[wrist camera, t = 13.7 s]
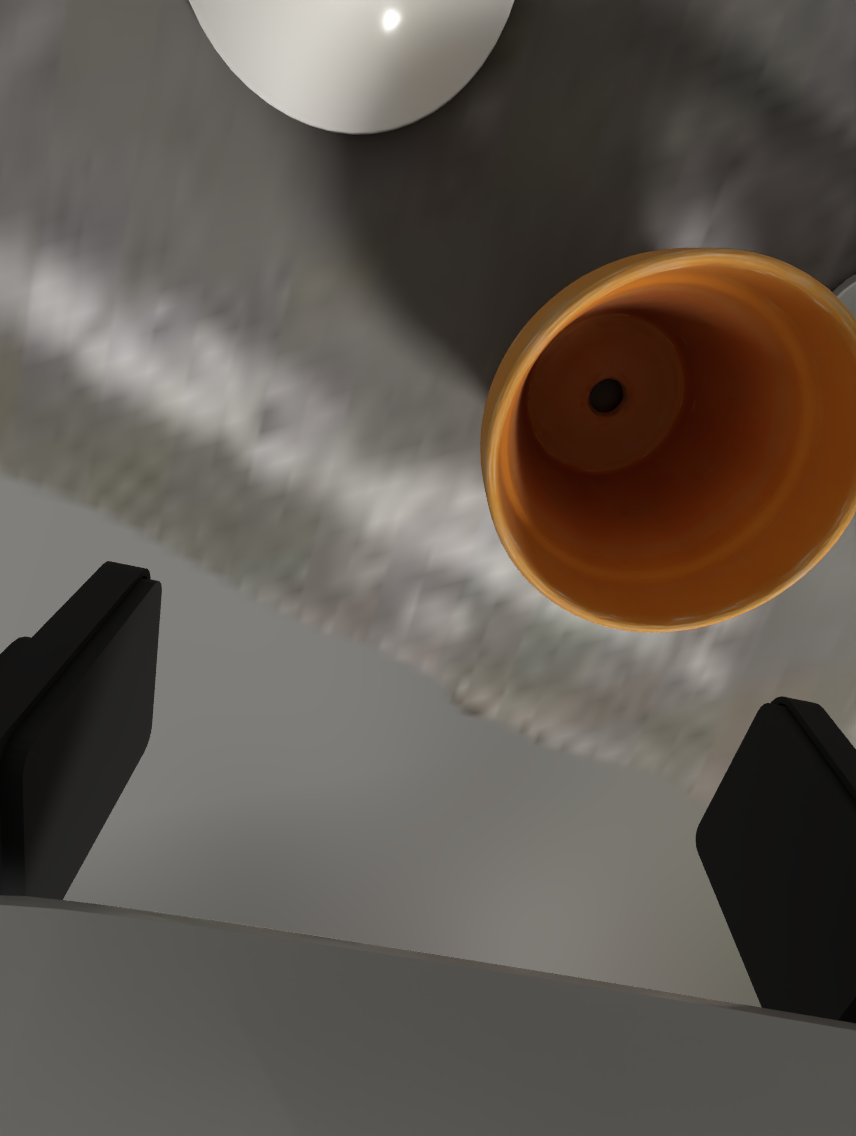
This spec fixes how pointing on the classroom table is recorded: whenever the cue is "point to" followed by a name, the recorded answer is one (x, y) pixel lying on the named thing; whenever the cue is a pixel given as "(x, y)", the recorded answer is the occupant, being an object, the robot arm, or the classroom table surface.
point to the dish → (354, 55)
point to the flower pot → (675, 438)
